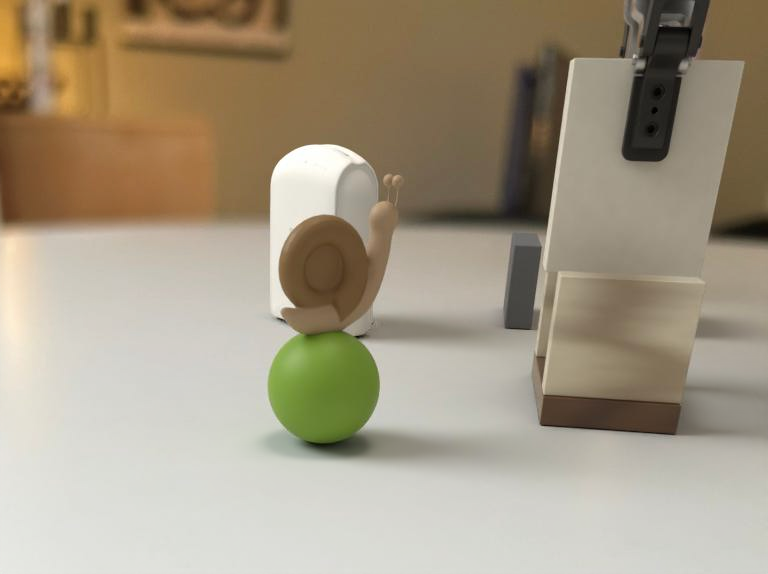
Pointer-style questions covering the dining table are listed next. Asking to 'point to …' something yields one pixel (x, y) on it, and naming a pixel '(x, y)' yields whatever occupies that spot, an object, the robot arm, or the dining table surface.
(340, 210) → the white rounded block
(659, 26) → the robot arm
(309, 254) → the snail figurine
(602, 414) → the wooden card holder
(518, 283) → the grey bookends
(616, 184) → the white book
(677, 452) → the dining table surface
